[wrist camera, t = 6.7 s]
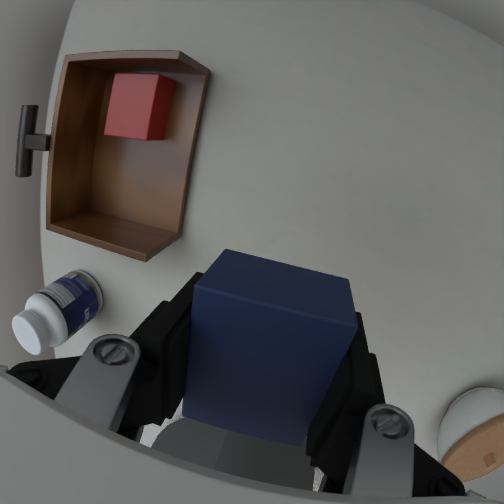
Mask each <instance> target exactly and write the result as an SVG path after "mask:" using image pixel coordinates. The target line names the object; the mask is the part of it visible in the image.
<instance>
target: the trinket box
mask: <svg viewBox="0 0 504 504" xmlns="http://www.w3.org/2000/svg"><path fill="white" fill-rule="evenodd" d="M437 454H438V459H439V463H440V464H441V465H443V466H444V467H445V468H447V469H448V470H449V471H451V472H452V473H453V474H454V475H456V476H457V477H458V478H459V479H460V480H461V482H466V481H470V480H474V479H476V478H479V477H482V476H484V475H486V474H488V473H490V472H492V471H493V470H495V469H497V468H498V467H500V466H501V465H503V464H504V391H502V390H500V389H496V388H485V387H478V388H474V389H471V390H469V391H467V392H465V393H463V394H462V395H460V396H459V397H458V398H457V399H455V400H454V401H453V403H452V404H451V405H450V407H449V408H448V410H447V413H446V414H445V416H444V418H443V420H442V422H441V424H440V427H439V430H438V435H437Z"/></svg>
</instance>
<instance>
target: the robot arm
mask: <svg viewBox="0 0 504 504" xmlns="http://www.w3.org/2000/svg"><path fill="white" fill-rule="evenodd" d="M203 274H204V273H200V272H196V273H195V274H194V276H193V277H192V278H191V279H190V280H189V281H188V282H187V283H186V284H185V286H184V287H183V288H182V289H181V290H180V291H179V292H178V293H177V294H176V296H175V297H174V298H173V299H172V300H171V301H170V302H168V301H162V302H161V303H160V304H159V305H158V306H157V307H156V308H155V309H154V311H153V312H152V313H151V314H150V315H149V316H148V317H147V318H146V319H145V320H144V321H143V322H142V323H141V325H140V326H139V327H138V328H137V329H136V330H135V331H134V332H133V333H132V334H131V335H130V336H129V337H126V336H124V335H119V334H107V335H103V336H99V337H98V338H96V339H94V340H93V341H92V342H91V343H90V344H89V346H88V347H87V349H86V350H85V352H84V353H83V355H82V356H76V357H68V358H59V359H50V360H41V361H30V362H24V363H20V364H18V365H16V366H14V367H13V368H12V369H10V370H8V367H7V366H1V365H0V504H504V502H501V501H497V500H493V499H489V498H486V497H484V496H482V495H480V494H478V493H475V492H473V491H471V490H469V491H467V492H465V489H464V485H463V484H462V482H461V480H460V479H459V478H458V477H457V476H456V475H454V474H453V473H452V472H451V471H449V470H448V469H447V468H445V467H444V466H443V465H441V464H440V463H439V462H438V461H436V460H435V459H434V458H432V457H431V456H430V455H429V454H427V453H426V452H425V451H424V450H422V449H421V448H420V447H419V446H417V445H416V444H415V443H414V424H413V422H412V420H411V418H410V417H409V415H408V414H407V413H406V412H404V411H403V410H401V409H400V408H398V407H396V406H393V405H389V404H385V398H384V393H383V388H382V383H381V377H380V373H379V368H378V363H377V358H376V355H375V354H373V353H369V351H368V346H367V341H366V336H365V331H364V326H363V321H362V317H361V313H360V312H355V313H356V318H357V323H358V328H357V330H356V333H355V335H354V338H353V340H352V342H351V345H350V347H349V349H348V352H347V354H346V356H345V357H342V360H341V362H340V364H339V366H338V369H337V371H336V373H335V375H334V378H333V380H332V382H331V384H330V386H329V388H328V390H327V392H326V395H325V397H324V399H323V401H322V403H321V405H320V407H319V409H318V411H317V413H316V415H315V417H314V419H313V421H312V423H311V425H310V426H309V428H308V434H307V444H306V456H311V462H310V466H312V467H319V469H320V470H321V471H322V472H323V473H324V476H323V478H322V481H321V484H320V487H319V490H318V492H317V491H310V490H303V489H297V488H291V487H285V486H280V485H274V484H269V483H265V482H260V481H255V480H251V479H247V478H243V477H239V476H235V475H231V474H227V473H224V472H220V471H217V470H213V469H210V468H206V467H203V466H200V465H197V464H194V463H191V462H188V461H185V460H182V459H179V458H176V457H173V456H171V455H168V454H165V453H162V452H160V451H157V450H155V449H152V448H150V447H147V446H145V445H142V444H140V443H139V442H140V439H141V436H142V432H143V429H144V425H148V424H152V423H154V424H156V425H159V426H161V425H162V423H163V422H164V420H165V418H168V419H171V418H172V417H173V415H174V413H175V411H176V409H177V408H178V406H179V404H180V402H181V400H182V398H183V396H184V385H185V374H186V363H187V352H188V342H189V332H190V323H191V310H192V302H193V293H194V286H195V284H196V283H197V282H198V280H199V279H200V278H201V277H202V276H203Z"/></svg>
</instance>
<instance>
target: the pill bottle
mask: <svg viewBox="0 0 504 504" xmlns="http://www.w3.org/2000/svg"><path fill="white" fill-rule="evenodd" d="M102 303H103V298H102V293H101V290H100V288H99V286H98V284H97V282H96V281H95V280H94V279H93V278H92V277H91V276H90V275H89V274H87V273H86V272H84V271H80V270H75V271H72V272H70V273H68V274H66V275H64V276H63V277H61V278H59V279H58V280H56V281H55V282H53V283H51V284H50V285H48V286H46V287H45V288H43V289H42V290H40V291H38V292H37V293H35V294H34V295H32V296H31V297H30V298H29V299H28V300H27V302H26V305H25V310H24V311H22V312H20V313H19V314H18V315H16V316H15V317H14V318H13V321H12V327H13V331H14V333H15V336H16V338H17V340H18V341H19V343H20V344H21V345H22V347H23V348H24V349H25V350H27V351H28V352H29V353H31V354H33V355H38V354H40V353H41V352H42V351H44V350H45V349H46V348H47V347H48V346H51V347H57V346H60V345H62V344H63V343H64V342H66V341H67V340H68V339H69V338H70V337H71V336H73V335H74V334H75V333H76V332H77V331H78V330H79V329H81V328H82V327H83V326H84V325H85V324H86V323H88V322H89V321H90V320H91V319H92V318H93V317H95V316H96V315H97V314H98V313H99V311H100V310H101V308H102Z"/></svg>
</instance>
